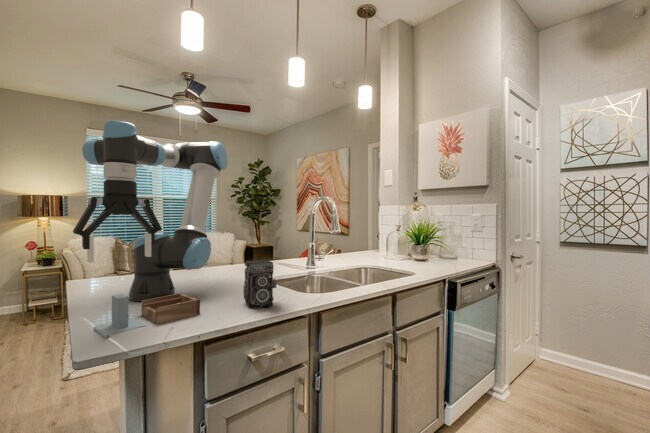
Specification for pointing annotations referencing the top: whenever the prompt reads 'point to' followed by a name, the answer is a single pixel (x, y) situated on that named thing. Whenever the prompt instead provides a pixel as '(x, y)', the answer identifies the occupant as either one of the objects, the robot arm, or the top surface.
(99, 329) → the lid plate
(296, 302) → the top surface
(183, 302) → the walnut box
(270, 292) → the camera
